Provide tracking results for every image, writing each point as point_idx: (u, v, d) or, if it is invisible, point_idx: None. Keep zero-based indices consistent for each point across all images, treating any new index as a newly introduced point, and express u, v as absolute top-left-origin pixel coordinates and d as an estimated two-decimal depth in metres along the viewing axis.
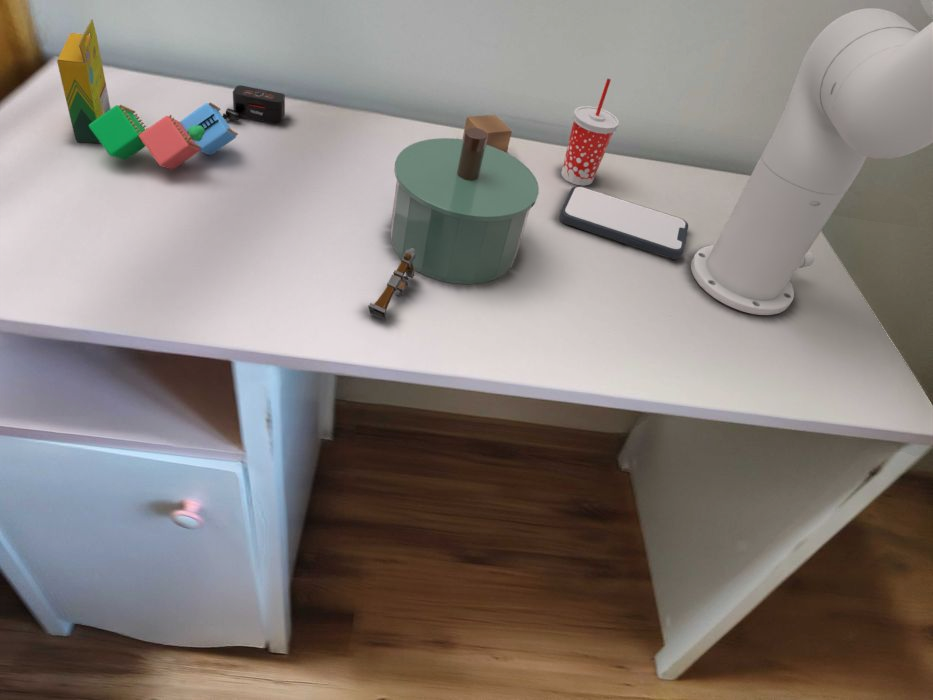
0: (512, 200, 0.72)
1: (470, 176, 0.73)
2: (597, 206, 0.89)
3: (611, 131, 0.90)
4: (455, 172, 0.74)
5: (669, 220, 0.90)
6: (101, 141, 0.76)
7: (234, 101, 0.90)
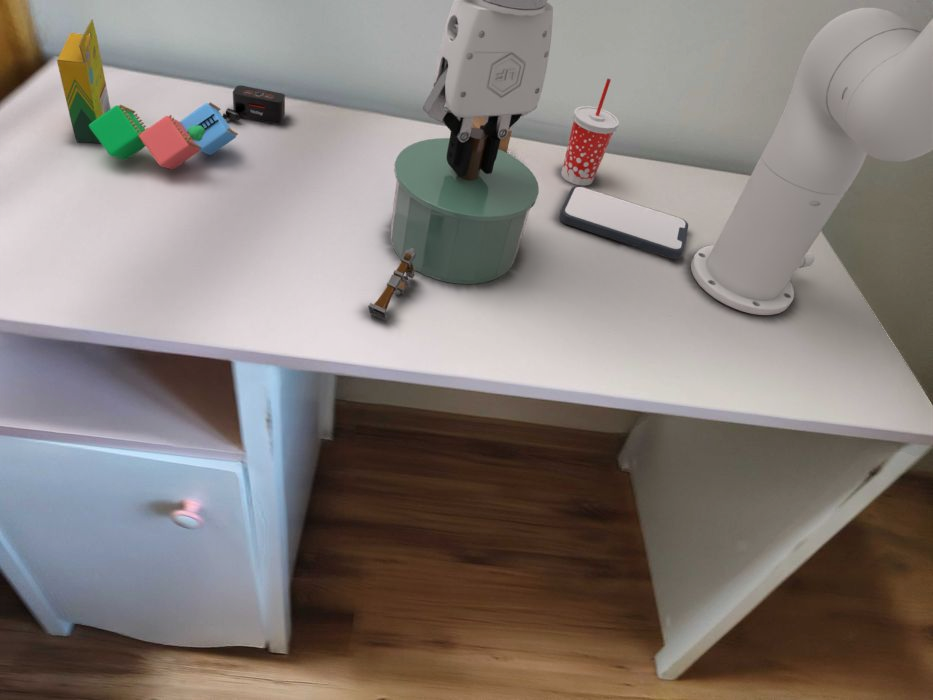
0: (512, 200, 0.72)
1: (470, 176, 0.73)
2: (597, 206, 0.89)
3: (611, 131, 0.90)
4: (455, 172, 0.74)
5: (669, 220, 0.90)
6: (101, 141, 0.76)
7: (234, 101, 0.90)
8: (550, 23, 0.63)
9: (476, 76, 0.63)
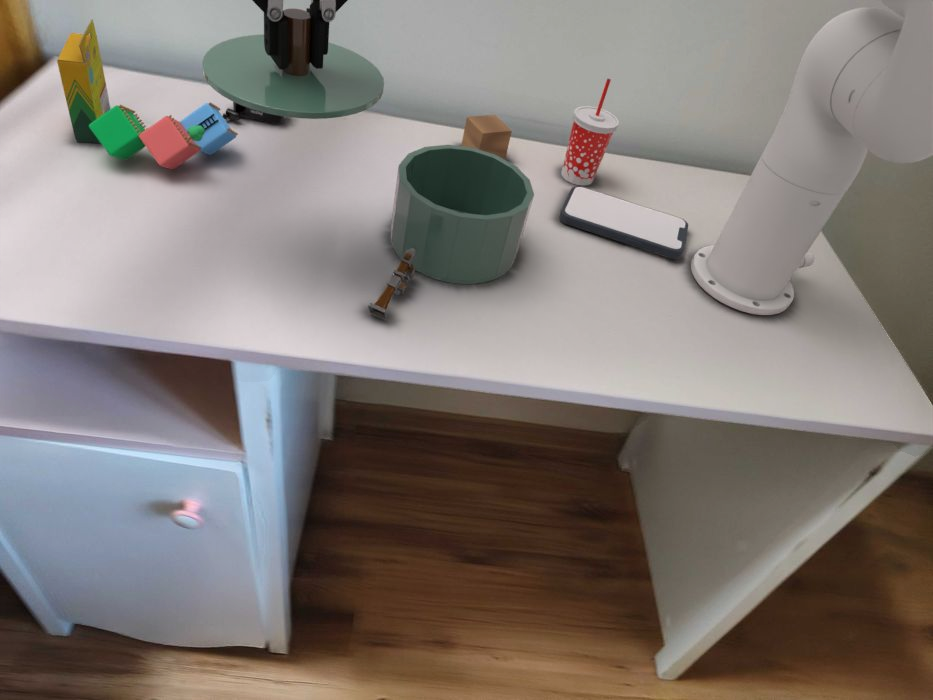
0: (343, 97, 0.59)
1: (295, 70, 0.60)
2: (597, 206, 0.89)
3: (611, 131, 0.90)
4: None
5: (669, 220, 0.90)
6: (101, 141, 0.76)
7: None
8: None
9: None
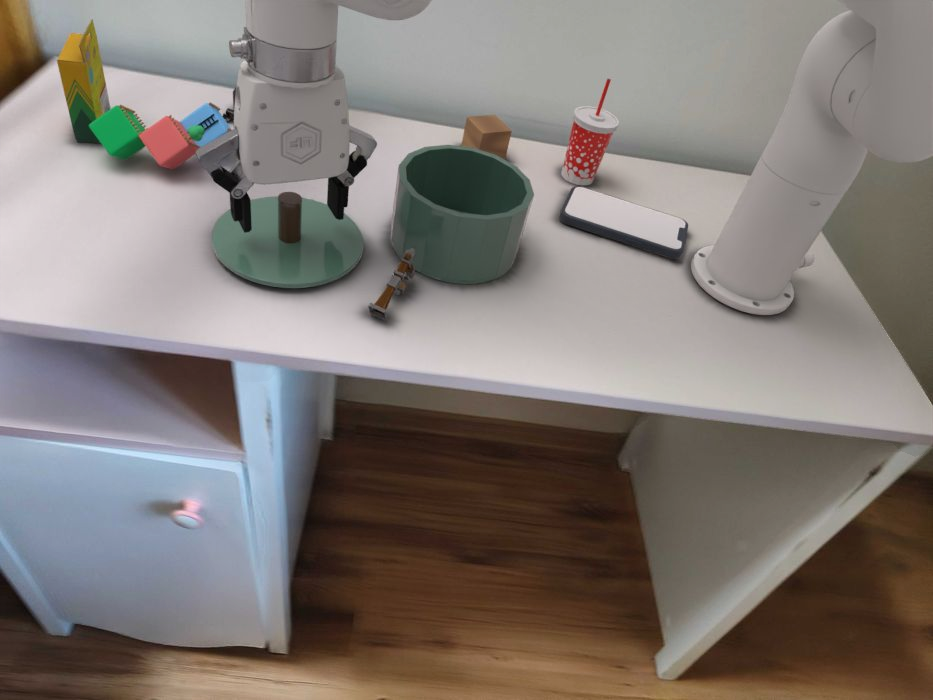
0: (329, 264, 0.71)
1: (289, 239, 0.72)
2: (597, 206, 0.89)
3: (611, 131, 0.90)
4: (276, 234, 0.73)
5: (669, 220, 0.90)
6: (101, 141, 0.76)
7: (234, 101, 0.90)
8: (342, 91, 0.62)
9: (266, 146, 0.62)
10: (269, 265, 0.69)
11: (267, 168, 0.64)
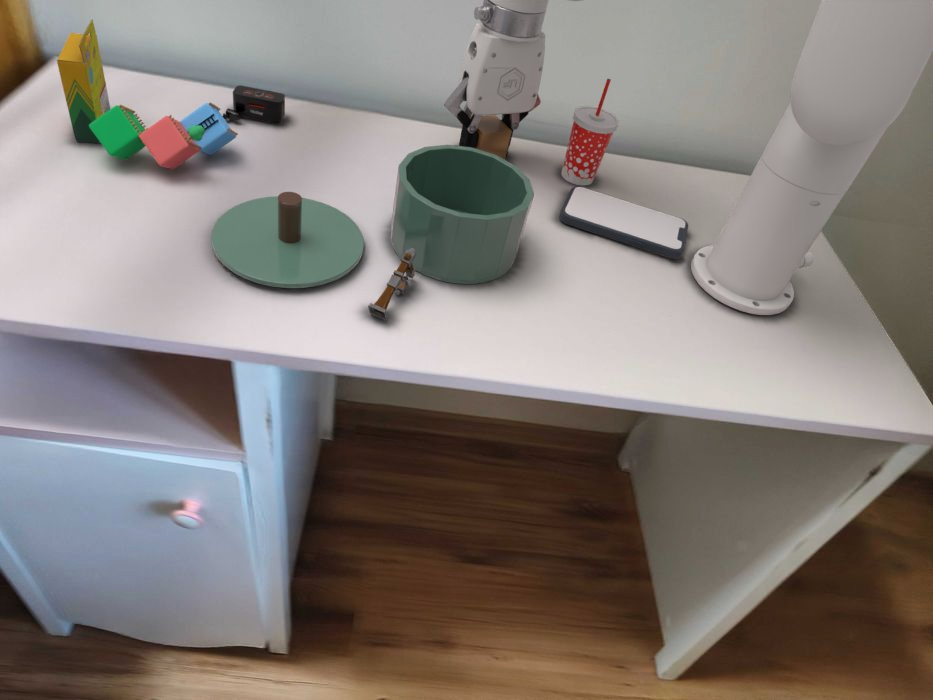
0: (329, 264, 0.71)
1: (289, 239, 0.72)
2: (597, 206, 0.89)
3: (611, 131, 0.90)
4: (276, 234, 0.73)
5: (669, 220, 0.90)
6: (101, 141, 0.76)
7: (234, 101, 0.90)
8: (543, 46, 0.86)
9: (489, 85, 0.86)
10: (269, 265, 0.69)
11: (486, 102, 0.88)
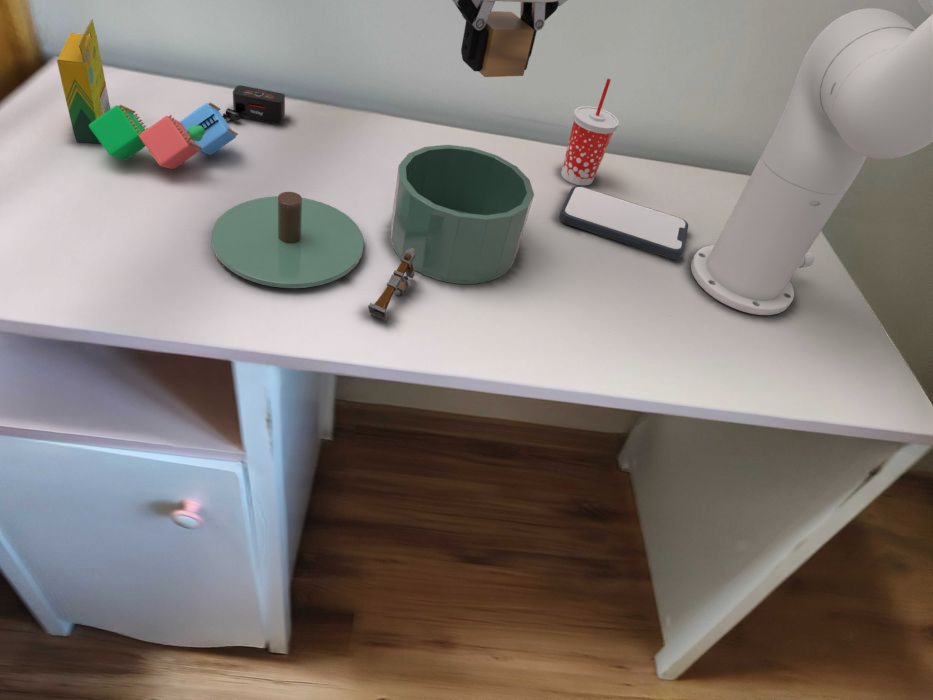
0: (329, 264, 0.71)
1: (289, 239, 0.72)
2: (597, 206, 0.89)
3: (611, 131, 0.90)
4: (276, 234, 0.73)
5: (669, 220, 0.90)
6: (101, 141, 0.76)
7: (234, 101, 0.90)
8: None
9: None
10: (269, 265, 0.69)
11: None
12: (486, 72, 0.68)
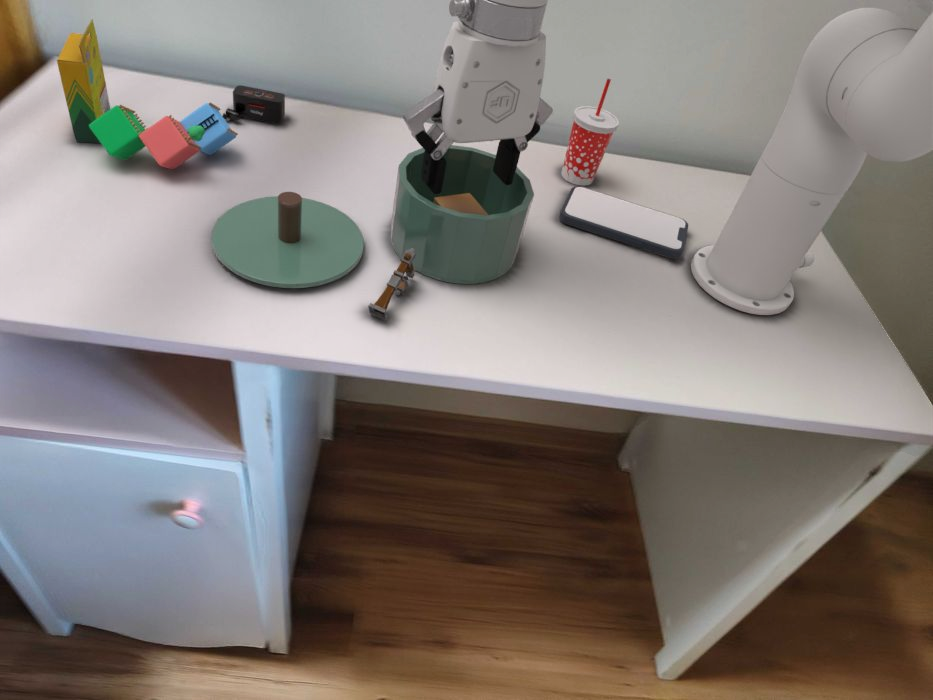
0: (329, 264, 0.71)
1: (289, 239, 0.72)
2: (597, 206, 0.89)
3: (611, 131, 0.90)
4: (276, 234, 0.73)
5: (669, 220, 0.90)
6: (101, 141, 0.76)
7: (234, 101, 0.90)
8: (543, 52, 0.65)
9: (471, 104, 0.64)
10: (269, 265, 0.69)
11: (467, 126, 0.66)
12: None
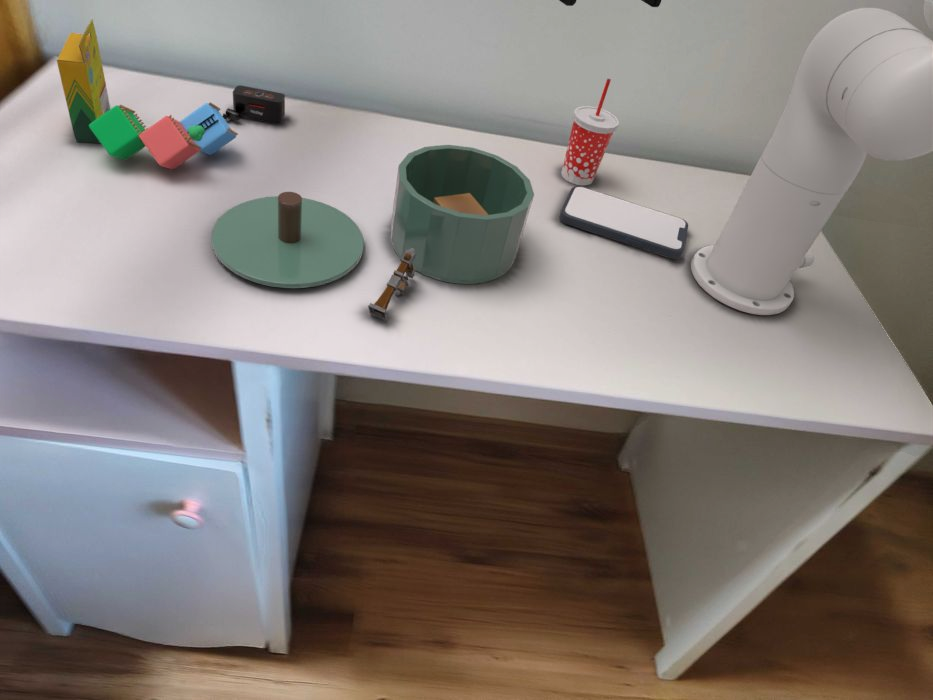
0: (329, 264, 0.71)
1: (289, 239, 0.72)
2: (597, 206, 0.89)
3: (611, 131, 0.90)
4: (276, 234, 0.73)
5: (669, 220, 0.90)
6: (101, 141, 0.76)
7: (234, 101, 0.90)
8: None
9: None
10: (269, 265, 0.69)
11: None
12: None
